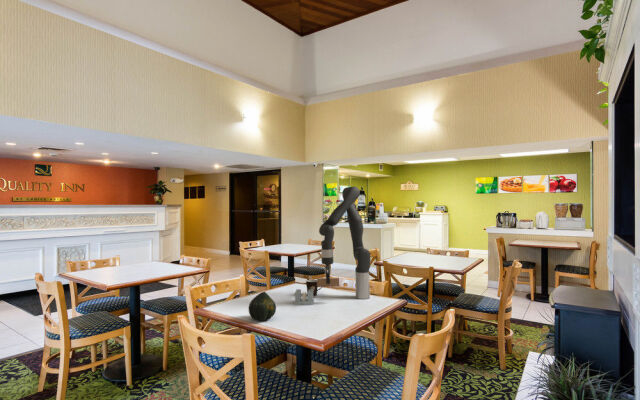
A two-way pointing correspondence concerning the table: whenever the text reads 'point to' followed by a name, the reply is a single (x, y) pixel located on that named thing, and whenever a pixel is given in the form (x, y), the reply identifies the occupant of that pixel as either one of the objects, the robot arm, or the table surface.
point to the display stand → (303, 300)
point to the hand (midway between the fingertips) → (328, 283)
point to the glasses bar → (322, 283)
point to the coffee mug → (312, 286)
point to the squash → (262, 307)
